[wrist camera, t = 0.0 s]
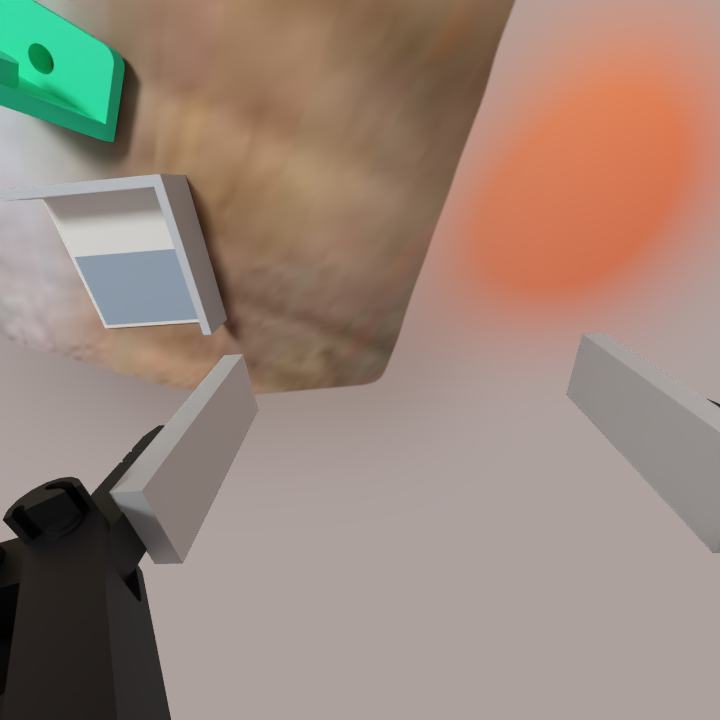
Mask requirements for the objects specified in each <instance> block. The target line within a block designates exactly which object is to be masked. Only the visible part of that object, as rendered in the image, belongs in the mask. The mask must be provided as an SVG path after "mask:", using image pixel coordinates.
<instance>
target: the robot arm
mask: <svg viewBox="0 0 720 720" xmlns="http://www.w3.org/2000/svg"><path fill="white" fill-rule="evenodd" d="M567 396H569V398H570V399H571V400H572V401H573V402H574V403H575V404H576V405H577V406H578V407H579V408H580V410H581V411H582V412H583V413H584V414H585V415H586V416H587V417H588V418H589V419H590V420H591V422H592V423H593V424H594V425H595V426H596V427H597V428H598V429H599V430H600V431H601V432H602V433H603V434H604V436H605V437H606V438H607V439H608V440H609V441H610V442H611V443H612V444H613V445H614V446H615V447H616V449H617V450H618V451H619V452H620V453H621V454H622V455H623V456H624V457H625V458H626V459H627V460H628V462H629V463H630V464H631V465H632V466H633V467H634V468H635V469H636V470H637V471H638V472H639V473H640V475H642V477H643V478H644V479H645V480H646V481H647V482H648V483H649V484H650V485H651V486H652V488H653V489H654V490H655V491H656V492H657V493H658V494H659V495H660V496H661V497H662V498H663V500H664V501H665V502H666V503H667V504H668V505H669V506H670V507H671V508H672V509H673V510H674V511H675V513H676V514H677V515H678V516H679V517H680V518H681V519H682V520H683V521H684V522H685V523H686V524H687V525H688V526H689V528H690V529H691V530H692V531H693V532H694V533H695V534H696V535H697V536H698V537H699V538H700V539H701V541H702V542H703V543H704V544H705V545H706V546H707V547H708V548H709V549H710V550H711V551H712V553H720V404H718V403H716V402H714V401H711V400H709V399H706V398H704V397H702V396H701V395H699V394H698V393H696V392H695V391H693V390H692V389H690V388H689V387H687V386H685V385H684V384H682V383H681V382H679V381H678V380H676V379H675V378H673V377H672V376H670V375H669V374H667V373H665V372H664V371H662V370H661V369H659V368H658V367H656V366H654V365H653V364H651V363H650V362H648V361H647V360H645V359H644V358H642V357H641V356H639V355H638V354H636V353H634V352H633V351H631V350H630V349H628V348H627V347H625V346H624V345H622V344H621V343H619V342H617V341H616V340H614V339H613V338H611V337H610V336H608V335H607V334H605V333H590V334H589V333H588V334H582V338H581V341H580V345H579V349H578V353H577V356H576V360H575V364H574V368H573V372H572V375H571V379H570V383H569V387H568V391H567ZM257 411H258V407H257V403H256V400H255V396H254V393H253V389H252V386H251V382H250V378H249V375H248V371H247V368H246V364H245V361H244V357H243V354H239V355H224V356H223V357H222V359H221V360H220V361H219V362H218V363H217V365H216V366H215V367H214V368H213V369H212V370H211V372H210V373H209V374H208V375H207V376H206V378H205V379H204V380H203V381H202V382H201V384H200V385H199V386H198V387H197V388H196V389H195V391H194V392H193V393H192V394H191V395H190V397H189V398H188V399H187V400H186V402H185V403H184V404H183V405H182V406H181V407H180V408H179V410H178V411H177V412H176V413H175V415H174V416H173V417H172V418H171V419H170V421H169V422H168V423H167V424H166V425H164V426H163V425H161V426H158V427H156V428H155V429H153V430H152V431H150V432H149V433H148V434H146V435H145V436H144V437H142V439H141V440H140V441H139V442H138V443H137V444H136V445H135V446H134V447H133V449H132V452H129V453H128V454H127V455H126V457H125V458H124V459H123V462H122V463H119V465H118V466H117V467H116V468H115V469H114V470H113V471H112V472H111V473H110V474H109V476H108V477H107V478H106V479H105V480H104V481H103V482H102V483H101V484H100V486H99V487H98V488H97V489H96V490H95V491H94V492H93V493H92V495H91V496H90V494H89V493H88V492H87V490H86V489H85V487H84V486H83V484H82V483H81V482H80V480H79V479H77V478H74V477H65V478H59V479H56V480H53V481H50V482H47V483H45V484H43V485H41V486H39V487H37V488H35V489H33V490H31V491H30V492H28V493H27V494H25V495H24V496H23V497H21V498H20V499H18V500H17V501H16V502H15V503H14V504H13V505H12V506H11V507H10V508H9V509H8V511H7V512H6V514H5V516H4V518H3V521H4V522H5V523H6V524H7V525H8V526H9V527H10V528H11V529H12V530H13V532H14V533H15V534H16V535H17V536H18V538H15V539H12V540H8V541H5V542H1V543H0V720H171V717H170V712H169V707H168V702H167V697H166V692H165V687H164V681H163V677H162V671H161V666H160V661H159V656H158V650H157V645H156V640H155V635H154V630H153V625H152V620H151V615H150V610H149V604H148V599H147V594H146V589H145V583H144V578H143V574H142V571H141V569H140V567H139V566H138V563H139V562H140V560H141V558H142V557H143V555H144V553H145V552H146V551H147V552H148V554H149V555H150V557H151V559H152V560H153V562H154V563H155V564H169V563H171V564H172V563H183V562H184V560H185V558H186V556H187V554H188V552H189V550H190V548H191V546H192V544H193V541H194V540H195V537H196V535H197V533H198V531H199V529H200V527H201V525H202V523H203V521H204V519H205V517H206V515H207V513H208V511H209V509H210V507H211V505H212V503H213V501H214V499H215V497H216V495H217V493H218V491H219V488H220V487H221V484H222V482H223V480H224V478H225V476H226V474H227V472H228V470H229V468H230V466H231V464H232V462H233V460H234V458H235V456H236V454H237V452H238V450H239V448H240V446H241V444H242V442H243V440H244V438H245V436H246V434H247V432H248V430H249V427H250V425H251V423H252V421H253V419H254V417H255V415H256V413H257Z"/></svg>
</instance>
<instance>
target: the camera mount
mask: <svg viewBox="0 0 720 720" xmlns="http://www.w3.org/2000/svg"><path fill="white" fill-rule="evenodd" d="M51 57H52V58H53V62H54V69H52V65H51ZM124 71H125V65H124V61H123V59H122V57H121V55H120V54H119V53H118V52H117V51H116V50H114V49H113V48H111V47H109V46H108V45H106V44H104V43H103V42H101V41H99V40H98V39H96V38H94V37H93V36H92V35H90V34H89V33H87V32H86V31H84V30H82V29H81V28H79V27H77V26H76V25H74V24H72V23H71V22H69V21H67V20H66V19H64V18H63V17H61V16H59V15H58V14H56V13H54V12H53V11H51V10H49V9H48V8H46V7H44V6H43V5H41V4H40V3H38V2H36V1H34V0H0V105H1V106H4V107H7V108H10V109H13V110H16V111H19V112H22V113H25V114H28V115H30V116H33V117H36V118H39V119H42V120H45V121H48V122H51V123H54V124H57V125H60V126H62V127H65V128H68V129H71V130H74V131H77V132H80V133H83V134H86V135H89V136H92V137H95V138H97V139H100V140H103V141H109V142H114V138H115V131H116V125H117V118H118V111H119V104H120V98H121V91H122V84H123V78H124Z"/></svg>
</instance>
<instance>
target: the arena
mask: <svg viewBox="0 0 720 720" xmlns="http://www.w3.org/2000/svg"><path fill="white" fill-rule="evenodd" d="M0 196H1V198H2V200H3V201H10V200H30V199H43V200H44V202H45V204H46V207H47V209H48V211H49V213H50V215H51V217H52V219H53V221H54V223H55V225H56V227H57V229H58V231H59V233H60V235H61V238H62V240H63V242H64V244H65V246H66V248H67V250H68V252H69V254H70V256H71V258H72V260H73V262H74V264H75V266H76V268H77V271H78V273H79V275H80V277H81V279H82V281H83V283H84V285H85V287H86V289H87V291H88V293H89V295H90V297H91V299H92V302H93V304H94V306H95V308H96V310H97V312H98V314H99V316H100V318H101V320H102V322H103V324H104V326H105V328H119V327H134V326H149V325H164V324H179V323H194V322H199V323H200V326H201V329H202V332H203V335H210V334H212V333H213V332H214V331H215V330H217V329H218V328H219V327H220V326H221V325H222V324H223V323H224V322H225V321H226V320H227V317H226V313H225V310H224V307H223V303H222V300H221V296H220V293H219V289H218V286H217V282H216V279H215V276H214V272H213V269H212V265H211V262H210V258H209V255H208V251H207V248H206V244H205V241H204V238H203V234H202V231H201V227H200V224H199V220H198V217H197V213H196V210H195V207H194V203H193V200H192V196H191V193H190V189H189V186H188V182H187V179H186V176H185V175H170V174H156V175H146V176H135V177H125V178H115V179H104V180H94V181H83V182H73V183H63V184H52V185H42V186H32V187H21V188H11V189H1V190H0Z"/></svg>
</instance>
